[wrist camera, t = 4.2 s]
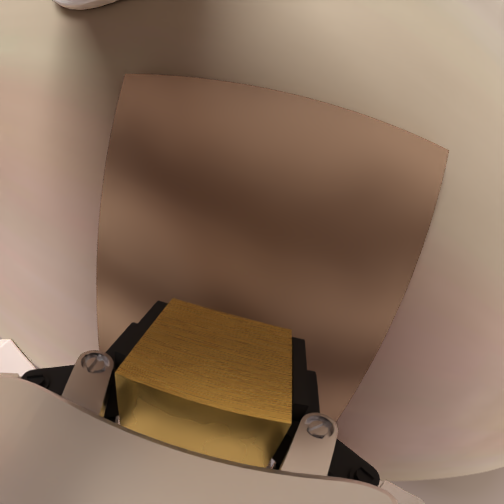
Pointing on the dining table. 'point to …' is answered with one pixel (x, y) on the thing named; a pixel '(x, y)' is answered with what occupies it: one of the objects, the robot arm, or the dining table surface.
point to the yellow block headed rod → (209, 384)
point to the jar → (13, 358)
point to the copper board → (263, 216)
